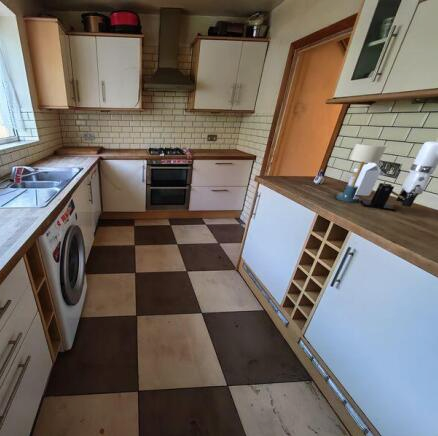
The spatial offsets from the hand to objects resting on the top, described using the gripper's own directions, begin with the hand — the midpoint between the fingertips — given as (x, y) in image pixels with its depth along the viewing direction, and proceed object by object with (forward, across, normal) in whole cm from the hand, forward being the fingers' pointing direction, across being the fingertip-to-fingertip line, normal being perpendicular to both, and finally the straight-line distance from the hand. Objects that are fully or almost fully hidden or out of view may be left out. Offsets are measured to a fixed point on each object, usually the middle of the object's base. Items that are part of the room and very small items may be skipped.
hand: (402, 203), depth 115 cm
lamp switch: (-3, 0, +5) cm, 6 cm away
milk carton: (+4, +21, +13) cm, 25 cm away
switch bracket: (+4, 0, +9) cm, 10 cm away
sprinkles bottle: (+4, +29, +16) cm, 33 cm away
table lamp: (+4, +4, +21) cm, 22 cm away
